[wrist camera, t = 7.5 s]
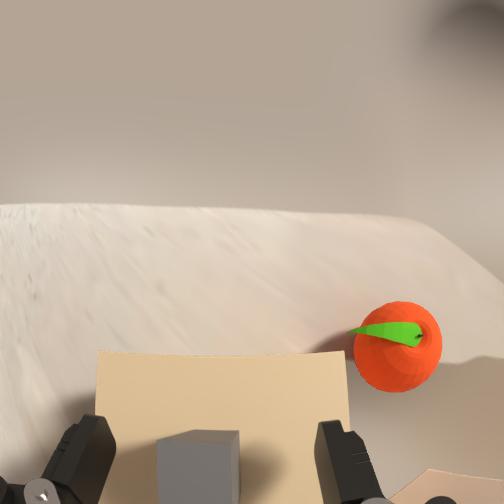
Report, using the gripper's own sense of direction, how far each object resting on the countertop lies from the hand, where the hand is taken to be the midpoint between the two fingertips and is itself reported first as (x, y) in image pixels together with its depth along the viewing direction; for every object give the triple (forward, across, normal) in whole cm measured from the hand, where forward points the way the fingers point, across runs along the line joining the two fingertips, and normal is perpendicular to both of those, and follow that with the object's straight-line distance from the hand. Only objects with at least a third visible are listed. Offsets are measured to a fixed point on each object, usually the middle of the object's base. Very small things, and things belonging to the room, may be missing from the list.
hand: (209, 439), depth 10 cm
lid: (+1, 0, -3) cm, 3 cm away
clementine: (+13, +12, -6) cm, 19 cm away
